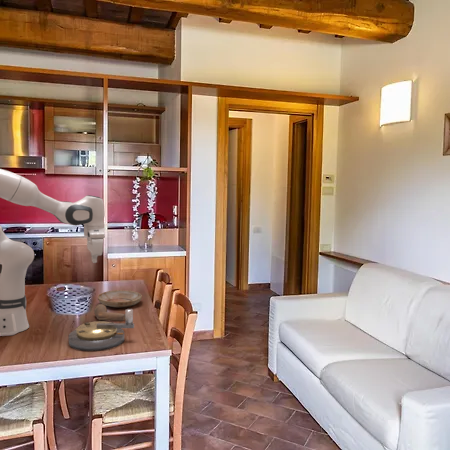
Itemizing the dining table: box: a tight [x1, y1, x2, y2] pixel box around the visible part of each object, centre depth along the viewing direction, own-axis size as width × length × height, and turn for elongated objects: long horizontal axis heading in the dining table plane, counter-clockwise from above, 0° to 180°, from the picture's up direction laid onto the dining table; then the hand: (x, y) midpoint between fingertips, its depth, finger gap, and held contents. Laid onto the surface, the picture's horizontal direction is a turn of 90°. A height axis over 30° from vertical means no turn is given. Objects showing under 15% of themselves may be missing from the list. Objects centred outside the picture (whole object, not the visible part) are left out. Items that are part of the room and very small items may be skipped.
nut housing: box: [68, 328, 125, 352], centre depth 179 cm, size 22×22×3 cm
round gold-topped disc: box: [75, 308, 135, 341], centre depth 179 cm, size 23×16×10 cm
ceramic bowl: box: [97, 289, 143, 308], centre depth 233 cm, size 23×24×5 cm
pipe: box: [93, 303, 125, 322], centre depth 209 cm, size 6×17×10 cm
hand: (94, 262), depth 195 cm, fingers closed
